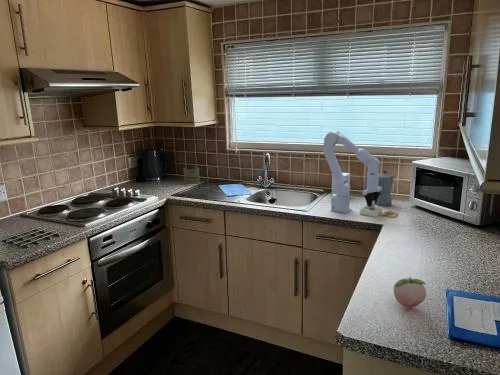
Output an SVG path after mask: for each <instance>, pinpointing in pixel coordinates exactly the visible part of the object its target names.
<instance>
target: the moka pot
mask: <svg viewBox="0 0 500 375" xmlns="http://www.w3.org/2000/svg"><path fill="white" fill-rule="evenodd" d="M394 177H395V176H394V175H393V174H390V173H388V171H387V170H384V171H383V173H379V180H378V186H379V187H382V190H381V191H379V192H381V194H380V196H379V197H378V200H377V203H376V205H375V206H378V207H383V208H384V207H385V208H386V207H391V206H392V204H393V202H392V194H391V192H392V188H393V183H394Z"/></svg>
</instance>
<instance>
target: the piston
mask: <svg viewBox="0 0 500 375" xmlns="http://www.w3.org/2000/svg"><path fill="white" fill-rule="evenodd" d="M200 180H201V177H200V167H198V166H193V168H192V169H188V168H187V166H186V167H183V181H184V185H185V184H198V183H200V184H201V181H200ZM198 185H199V184H198Z"/></svg>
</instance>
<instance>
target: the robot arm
mask: <svg viewBox="0 0 500 375" xmlns="http://www.w3.org/2000/svg"><path fill="white" fill-rule="evenodd" d="M336 145H343V146H344V147H346V148H347V149H348V150H350V151H351V152H353V153H354V155H355V158H356V159H357V160H359V162H362V163H363V164H364V165H366V167H367V174H366V175H367V176H366V188H365V189H364V190H362V195H363V197H364V199H365V202H366V205H367V206H369V207H371V206H372V200H375V206H377V205H376V203H377V200H378V197H379V196H380V194H381V192H379V191H381V190H382V187H379V186H378V180H379V174H380V173H379V172H380V168H379V166H380V164H381V161H380V160H379V158H378V157H375V155H372V154H371V153H369V151H368V149H367V148H365V149H364V148H359V147H358V146H357V145H356V144H355V143H354V142H353V141H351V140H350V139H349V138H348V137H346V136H345V135H344V134H343V133H341V132H340V131H339V130H332V131H330V132H327V134H326V135H325V137H324V138H323V148H322V151H323V154H324V156H325V160H326V162H327V164H328V167H329V169H330V172H331V175H332V174H333V177H334V179H335V186H336V194H333V195H332V194H331V201H330V211H331V212H337V213H344V214H348V213H349V212H351V211H352V210H353V209H352V208H350V196H351V195H350V194H351V193H350V194H349V192H348V191H349V190H350V191H351V188H352V187H351V183H350V184H349V183H348V182H347V180H346V178H345V177H344V176H343V174H342V173H343V172H342V169H341V166H340V164H339V161H338V159H337V156H336V154H335V150H334V149H335V146H336Z"/></svg>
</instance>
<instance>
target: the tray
mask: <svg viewBox="0 0 500 375" xmlns="http://www.w3.org/2000/svg"><path fill="white" fill-rule="evenodd" d="M368 208H369V206H367V204H365V205H364V206H362V207H361V208H359V215H362V216H368V217H374V218H378V217H379V216H380V215H381V213H382V212H383V208H384V207H382V206H378V205H375V209H376V211H373V210H367V209H368Z"/></svg>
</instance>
